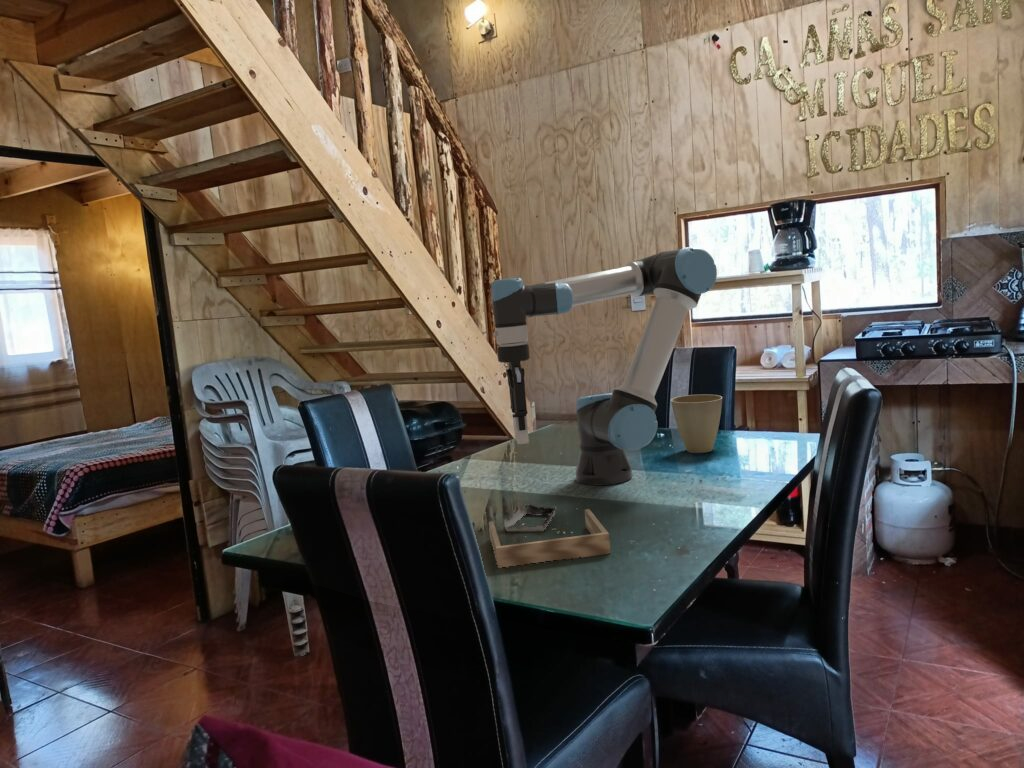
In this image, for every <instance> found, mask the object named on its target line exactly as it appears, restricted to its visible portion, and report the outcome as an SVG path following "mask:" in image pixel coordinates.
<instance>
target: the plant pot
mask: <svg viewBox="0 0 1024 768" xmlns="http://www.w3.org/2000/svg"><path fill="white" fill-rule="evenodd" d="M670 402H671V408H672V411H673V416H674V421H675V423H676V427H677V429H678V433H679V435H680V438H681V440H682V442H683V444H684V445H683V446H684V448H685V450H686V451H687V453H692V454H703V453H704V454H705V453H709V452H712V451H713V449H714V446H715V442H716V440H717V435H718V432H719V431H718V430H719V426H720V420H721V414H722V405H723V396H721V395H718V394H707V393H706V394H689V395H681V396H676V397H672V398H671V399H670Z"/></svg>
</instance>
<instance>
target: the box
mask: <svg viewBox="0 0 1024 768" xmlns="http://www.w3.org/2000/svg"><path fill="white" fill-rule="evenodd" d="M584 518H585V528H586V530H588V532H589V533H590V534H584V535H576V536H568V537H559V538H551V539H544V540H537V541H529V542H524V543H523V542H521V543H513V544H506V545H502V544H501V542H500V539H499V535H498V532H497V528H496V527H495V523H494V521H493V520H492V521H491V520H490V521H488V530H489V540H490V543H492V544H491V547H493V548H492V550H494V551H493V555H494V554H495V555H494V558H495V561H497V562H496V566H497V565H498V566H497V569H498V568H499V569H503V568H502V567H506V568H510V567H509V566H514V567H517V566H516V565H521V566H524V565H523V564H529V565H531V564H530V563H536V562H544V563H546V562H545V561H551V562H554V561H553V560H558V561H563V560H562V559H566V560H572V559H571V558H573V559H578V558H579V557H581V558H585V557H586V558H587V557H594V556H601V555H603V556H604V555H609V553H610V554H611V543H610V533H609V532H608V530H607V529H606V527H604V525H603V524H602V523H601V521H600V520H599V519H598V518H597V516H595V514H594V513H593V512H592V511H591V510H590V509H589V508H587V509H584ZM579 559H580V558H579ZM536 564H537V563H536Z"/></svg>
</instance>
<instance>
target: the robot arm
mask: <svg viewBox="0 0 1024 768" xmlns="http://www.w3.org/2000/svg"><path fill="white" fill-rule="evenodd" d="M717 275H718V270H717V265H716V264H715V260H714V259H713V257H712V255H711V254H710V253H709V252H708V251H706V250H705V249H704V248H701V247H696V246H695V247H688V246H686V247H683V248H681V249H674V250H665V251H660V252H658V253H655V254H652V255H649V256H647V257H644V258H640V259H637V260H634V261H633V260H632V261H627V263H626V264H625V266H622V267H615V268H612V269H606V270H601V271H596V272H590V273H586V274H580V275H576V276H575V275H574V276H571V277H570V276H569V277H565V278H560V279H556V280H550V281H545V282H542V283H541V282H540V283H535V284H531V285H530V284H528V285H524V283H523V279H522V278H520V277H515V278H514V277H511V278H501V279H495V280H493V281H492V282H491V286H490V287H491V289H490V291H491V302H492V303H491V304H492V311H493V318H494V319H493V320H494V329H495V331H494V332H492V335H493V336H494V337H495V339H496V344H497V345H499V346H497V348H496V351H497V352H496V353H497V360H498V362H499V363H501V364H502V363H503V364H505V363H507V364H508V368H506V369H505V372H506V373H505V374H506V376H507V385H508V388H509V399H510V409H511V413H512V415H511V416H512V422H513V434H514V441H516V443H517V445H524V444H529V443H530V439H529V427H528V418H527V414H528V408H527V397H526V385H525V383H526V382H525V374H526V373H525V369H524V367H522V365H521V362H523V361H524V362H525V361H528V360H529V359H530V357H531V356H530V347H529V344H528V343H527V342H529V334H528V333H529V332H528V323H527V318H533V317H543V316H552V315H558V316H559V315H561V314H567V313H569V312H570V311H571V309H573V307H577V306H582V305H587V304H591V303H595V302H599V301H605V300H606V301H607V300H610V299H614V298H620V297H625V296H629V295H630V296H631V297H633V298H639V297H643V296H654V297H655V302H654V304H653V307H652V310H651V312H650V314H649V317H648V319H647V321H646V325H645V327H644V330H643V332H642V335H641V337H640V339H639V342H638V344H637V347H636V348H635V349H636V350H635V352H634V354H633V357H632V360H631V363H630V365H629V367H628V370H627V372H626V375H625V378H624V379H623V383H622V384H621V385H619V386H617V387H615V388H614V389H613V391H612V392H606V393H600V394H593V395H587V396H581V397H578V398H577V400H576V402H575V403H576V404H575V405H576V406H575V407H576V408H575V412H576V419H577V420H576V421H577V422H576V423H577V431H578V440H579V441H578V442H579V456H578V461H577V466H576V468H575V469H576V470H575V481H576V482H577V483H578V484H581V485H582V484H583V485H586V486H607V485H608V486H609V485H614V484H615V485H616V484H620V483H624V482H627V481H629V480H631V479H632V478H633V470H632V466H631V463H630V461H629V459H628V457H627V454H626V452H625V451H637V450H640V449H643V448H644V447H646V446H647V445H649V444H650V443H651V442H652V441H653V440H654V438H655V436H656V435H657V431H658V420H657V416H656V411H657V408H658V403H657V400H656V398H655V396H656V394H657V391H658V389H659V386H660V384H661V381H662V379H663V376H664V373H665V371H666V368H667V365H668V363H669V361H670V358H671V356H672V354H673V350H674V349H675V345H676V343H677V340H678V338H679V335H680V333H681V330H682V328H683V326H684V322H685V320H686V317H687V316H688V313H689V311H690V310H693V309H696V308H697V306H698V304H699V301H700V299H701V296H702V294H705V293H708V291H710V290H711V289H713V287H714V285H715V284H716V281H717V277H718V276H717Z"/></svg>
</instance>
